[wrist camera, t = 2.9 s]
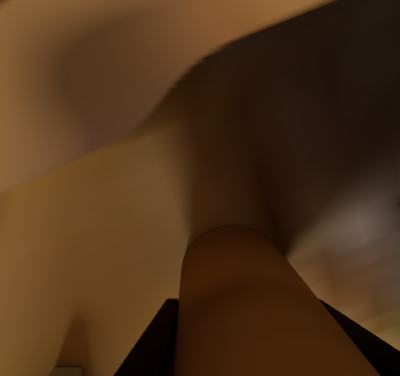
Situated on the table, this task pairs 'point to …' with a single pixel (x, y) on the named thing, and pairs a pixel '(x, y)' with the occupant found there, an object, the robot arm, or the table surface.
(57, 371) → the backstop wall
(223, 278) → the brown piece
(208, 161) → the table surface
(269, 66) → the table surface
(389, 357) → the robot arm
